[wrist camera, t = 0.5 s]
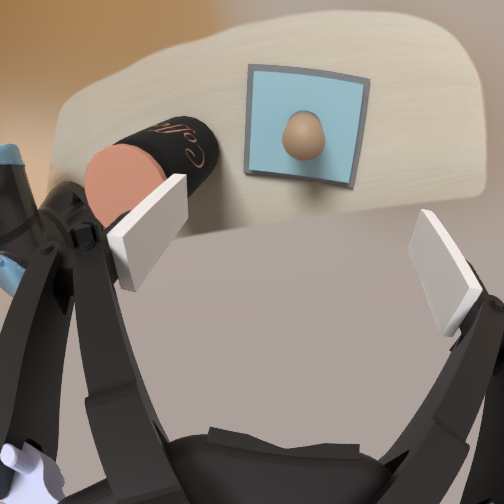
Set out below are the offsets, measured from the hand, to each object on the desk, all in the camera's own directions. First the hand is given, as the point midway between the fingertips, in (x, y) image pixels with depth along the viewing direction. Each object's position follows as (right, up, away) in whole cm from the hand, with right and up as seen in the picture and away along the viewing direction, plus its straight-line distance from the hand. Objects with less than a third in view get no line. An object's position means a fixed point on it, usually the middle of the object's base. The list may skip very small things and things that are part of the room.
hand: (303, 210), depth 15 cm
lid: (+4, +15, +21) cm, 26 cm away
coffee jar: (-12, +14, +26) cm, 32 cm away
